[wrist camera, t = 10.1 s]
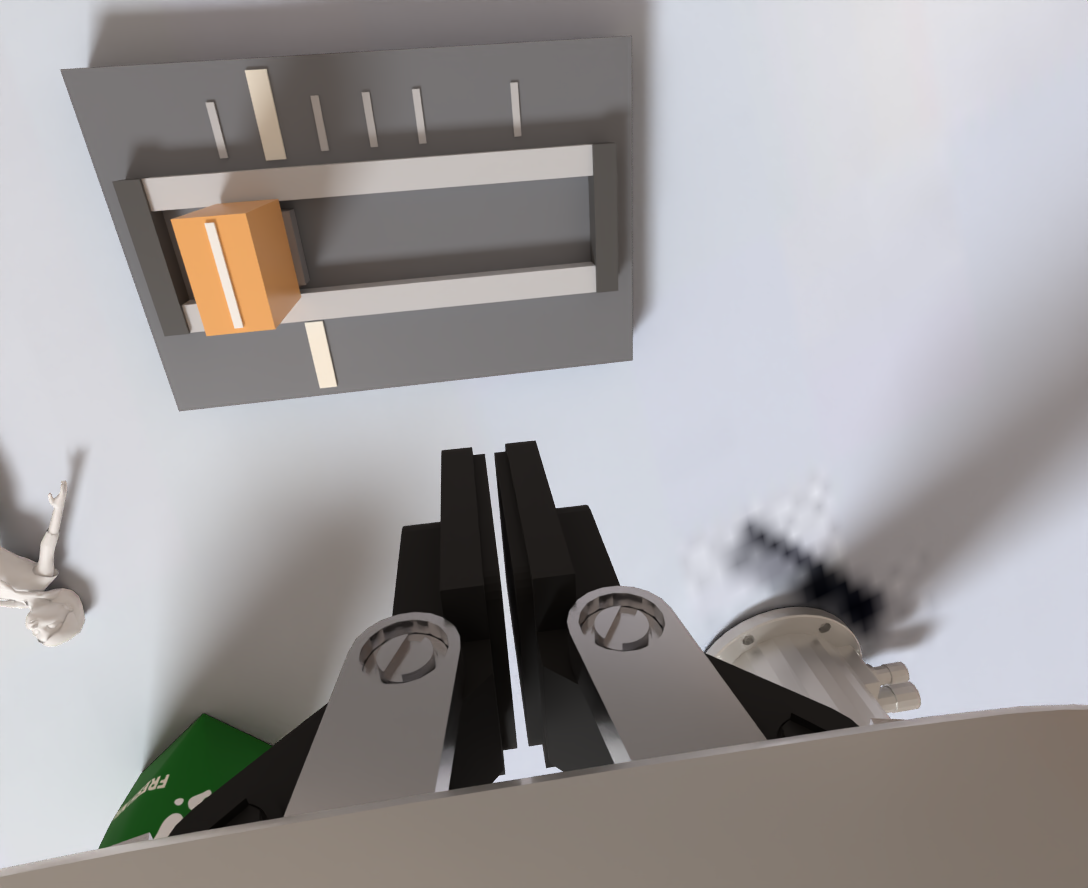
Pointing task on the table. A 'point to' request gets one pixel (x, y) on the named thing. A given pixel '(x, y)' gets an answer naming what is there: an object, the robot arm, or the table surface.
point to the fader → (242, 264)
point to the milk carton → (183, 779)
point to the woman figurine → (42, 587)
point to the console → (382, 208)
